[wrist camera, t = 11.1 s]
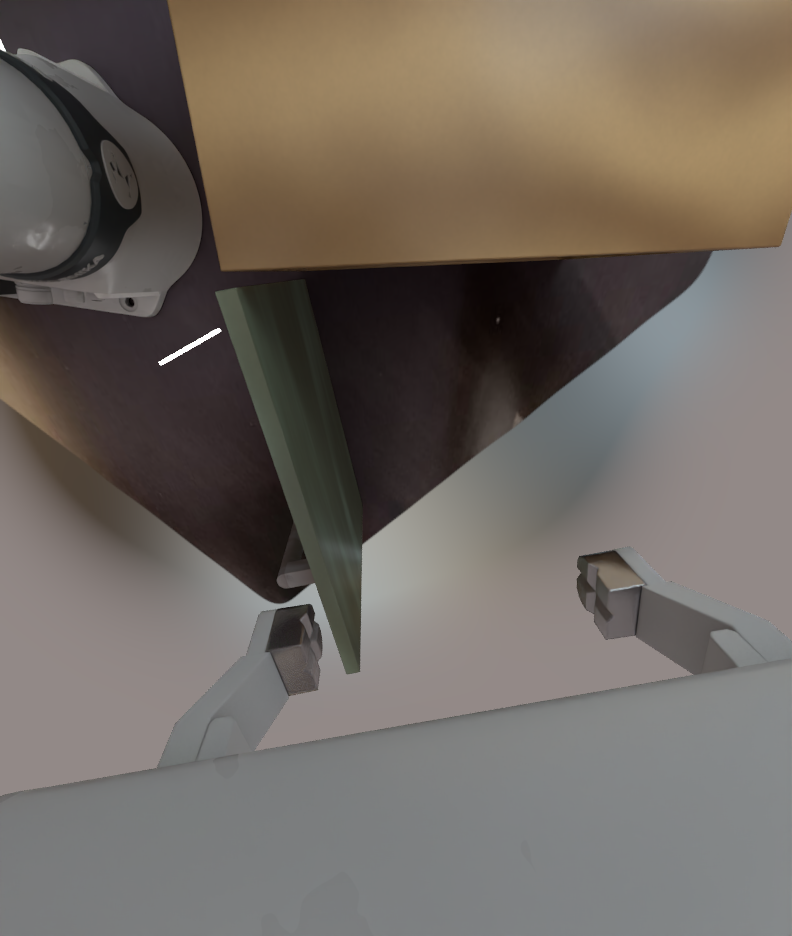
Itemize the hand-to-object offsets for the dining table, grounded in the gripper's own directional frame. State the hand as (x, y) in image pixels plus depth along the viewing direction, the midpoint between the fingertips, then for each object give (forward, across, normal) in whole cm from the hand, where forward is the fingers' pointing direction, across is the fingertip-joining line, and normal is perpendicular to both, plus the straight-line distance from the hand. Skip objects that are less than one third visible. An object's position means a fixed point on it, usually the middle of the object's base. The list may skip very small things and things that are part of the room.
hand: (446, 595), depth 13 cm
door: (+35, +10, +4) cm, 37 cm away
